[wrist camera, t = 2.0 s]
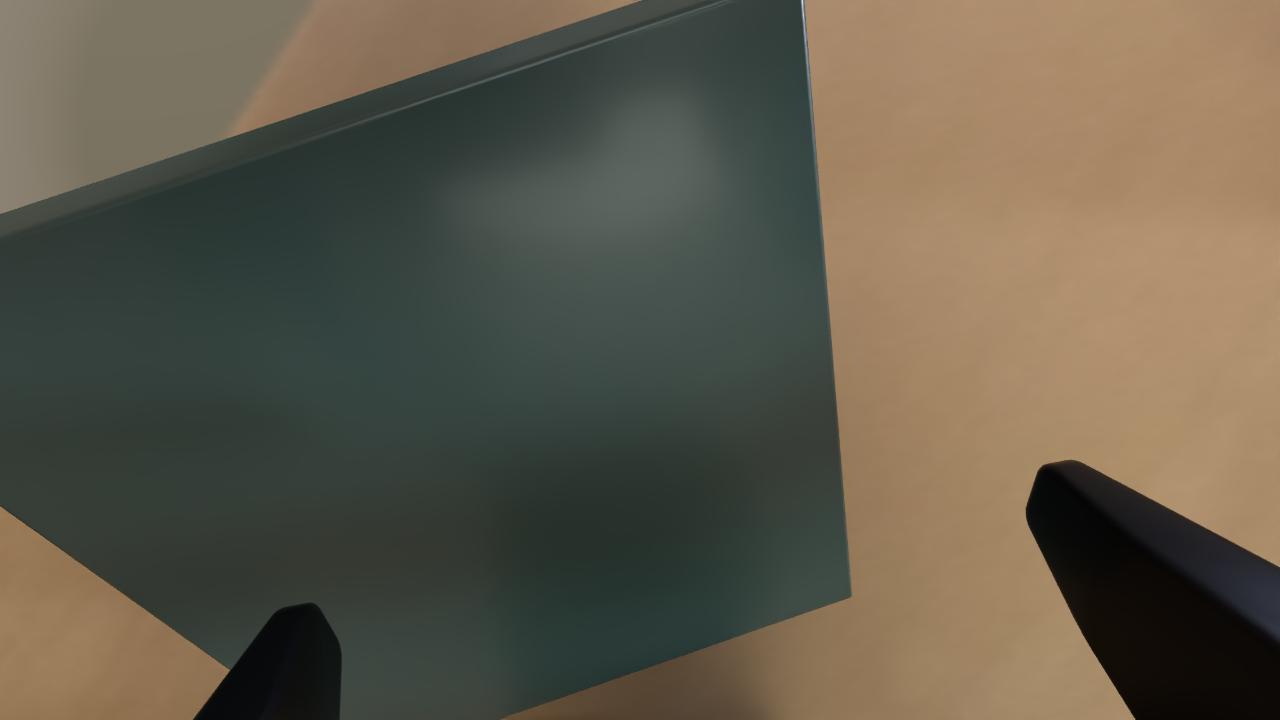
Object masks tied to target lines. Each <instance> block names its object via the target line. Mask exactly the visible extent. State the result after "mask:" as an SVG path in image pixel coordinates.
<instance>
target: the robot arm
mask: <svg viewBox="0 0 1280 720" xmlns="http://www.w3.org/2000/svg"><path fill="white" fill-rule="evenodd" d="M1026 519H1027V522H1028V525H1029V528H1030V530H1031V532H1032V534H1033V536H1034V538H1035V540H1036V542H1037V544H1038V546H1039V548H1040V550H1041V552H1042V554H1043V556H1044V558H1045V560H1046V562H1047V564H1048V566H1049V568H1050V571H1051V573H1052V575H1053V577H1054V579H1055V581H1056V583H1057V585H1058V587H1059V589H1060V591H1061V593H1062V595H1063V597H1064V599H1065V601H1066V603H1067V605H1068V607H1069V609H1070V611H1071V613H1072V615H1073V617H1074V619H1075V621H1076V623H1077V625H1078V626H1079V628H1080V630H1081V632H1082V634H1083V636H1084V637H1085V639H1086V641H1087V642H1088V644H1089V646H1090V648H1091V649H1092V651H1093V653H1094V654H1095V656H1096V657H1097V659H1098V661H1099V662H1100V664H1101V665H1102V667H1103V669H1104V670H1105V672H1106V673H1107V675H1108V676H1109V678H1110V680H1111V681H1112V683H1113V684H1114V686H1115V688H1116V689H1117V691H1118V692H1119V694H1120V696H1121V697H1122V699H1123V700H1124V702H1125V704H1126V705H1127V707H1128V708H1129V710H1130V712H1131V713H1132V715H1133V716H1134V718H1135V720H1280V567H1278V566H1276V565H1274V564H1272V563H1271V562H1269V561H1267V560H1265V559H1263V558H1261V557H1259V556H1257V555H1255V554H1254V553H1252V552H1250V551H1248V550H1246V549H1244V548H1242V547H1240V546H1238V545H1237V544H1235V543H1233V542H1231V541H1229V540H1227V539H1225V538H1223V537H1221V536H1220V535H1218V534H1216V533H1214V532H1212V531H1210V530H1208V529H1206V528H1204V527H1203V526H1201V525H1199V524H1197V523H1195V522H1193V521H1191V520H1189V519H1187V518H1186V517H1184V516H1182V515H1180V514H1178V513H1176V512H1174V511H1172V510H1170V509H1169V508H1167V507H1165V506H1163V505H1161V504H1159V503H1157V502H1155V501H1153V500H1152V499H1150V498H1148V497H1146V496H1144V495H1142V494H1140V493H1138V492H1136V491H1135V490H1133V489H1131V488H1129V487H1127V486H1125V485H1123V484H1121V483H1119V482H1118V481H1116V480H1114V479H1112V478H1110V477H1108V476H1106V475H1104V474H1102V473H1101V472H1099V471H1097V470H1095V469H1093V468H1091V467H1089V466H1087V465H1085V464H1084V463H1081V462H1079V461H1076V460H1065V461H1060V462H1054V463H1049V464H1045V465H1043V466H1042V467H1041V468H1040V469H1039V470H1038V472H1037V475H1036V478H1035V481H1034V484H1033V487H1032V490H1031V493H1030V496H1029V499H1028V502H1027V506H1026ZM341 673H342V652H341V647H340V643H339V641H338V638H337V637H336V635H335V633H334V631H333V630H332V628H331V626H330V625H329V623H328V621H327V619H326V618H325V616H324V614H323V613H322V611H321V609H320V608H319V607H318V605H316V604H314V603H303V604H298V605H293V606H287V607H283V608H281V609H279V610H277V611H276V612H275V613H274V614H273V615H272V616H271V617H270V619H269V620H268V621H267V623H266V624H265V625H264V627H263V628H262V629H261V631H260V632H259V633H258V635H257V636H256V637H255V639H254V640H253V641H252V643H251V644H250V645H249V646H248V648H247V649H246V650H245V652H244V653H243V654H242V656H241V657H240V658H239V660H238V661H237V662H236V664H235V665H234V666H233V668H232V669H231V670H230V672H229V673H228V674H227V675H226V677H225V678H224V679H223V681H222V682H221V683H220V685H219V686H218V687H217V689H216V690H215V691H214V693H213V694H212V695H211V697H210V698H209V699H208V701H207V702H206V703H205V704H204V706H203V707H202V708H201V710H200V711H199V712H198V714H197V715H196V716H195V718H194V719H193V720H340V699H341Z"/></svg>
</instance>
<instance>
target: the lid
mask: <svg viewBox="0 0 1280 720" xmlns="http://www.w3.org/2000/svg"><path fill="white" fill-rule="evenodd" d="M0 506H1V507H2V508H4V509H5V510H6V511H8V512H9V513H11V514H12V515H13V516H15V517H16V518H18V519H19V520H20V521H22V522H23V523H25V524H26V525H27V526H29V527H30V528H32V529H33V530H34V531H36V532H37V533H39V534H40V535H41V536H43V537H44V538H46V539H47V540H48V541H50V542H51V543H53V544H54V545H55V546H57V547H58V548H60V549H61V550H62V551H64V552H65V553H67V554H68V555H69V556H71V557H72V558H74V559H75V560H76V561H78V562H79V563H81V564H82V565H83V566H85V567H86V568H88V569H89V570H90V571H92V572H93V573H95V574H96V575H97V576H99V577H100V578H102V579H103V580H105V581H106V582H107V583H109V584H110V585H112V586H113V587H114V588H116V589H117V590H119V591H120V592H121V593H123V594H124V595H126V596H127V597H128V598H130V599H131V600H133V601H134V602H135V603H137V604H138V605H140V606H141V607H142V608H144V609H145V610H147V611H148V612H149V613H151V614H152V615H154V616H155V617H156V618H158V619H159V620H161V621H162V622H163V623H165V624H166V625H168V626H169V627H170V628H172V629H173V630H175V631H176V632H177V633H179V634H180V635H182V636H183V637H184V638H186V639H187V640H189V641H190V642H191V643H193V644H194V645H196V646H197V647H198V648H200V649H201V650H203V651H204V652H205V653H207V654H208V655H210V656H211V657H212V658H214V659H215V660H217V661H218V662H219V663H221V664H222V665H224V666H225V667H226V668H228V669H229V670H231V669H232V668H233V666H234V665H235V664H236V662H237V661H238V660H239V658H240V657H241V656H242V654H243V653H244V652H245V650H246V649H247V648H248V646H249V645H250V644H251V643H252V641H253V640H254V639H255V637H256V636H257V635H258V633H259V632H260V631H261V629H262V628H263V627H264V625H265V624H266V623H267V621H268V620H269V619H270V617H271V616H272V615H273V614H274V613H275V612H276V611H277V610H279V609H281V608H283V607H287V606H293V605H298V604H303V603H314V604H316V605H318V607H319V608H320V609H321V611H322V613H323V614H324V616H325V618H326V619H327V621H328V623H329V625H330V626H331V628H332V630H333V631H334V633H335V635H336V637H337V638H338V641H339V643H340V647H341V652H342V673H341V699H340V720H499V719H501V718H504V717H507V716H510V715H513V714H516V713H519V712H522V711H524V710H527V709H530V708H533V707H536V706H539V705H542V704H545V703H548V702H550V701H553V700H556V699H559V698H562V697H565V696H568V695H571V694H573V693H576V692H579V691H582V690H585V689H588V688H591V687H594V686H596V685H599V684H602V683H605V682H608V681H611V680H614V679H617V678H620V677H622V676H625V675H628V674H631V673H634V672H637V671H640V670H643V669H645V668H648V667H651V666H654V665H657V664H660V663H663V662H666V661H668V660H671V659H674V658H677V657H680V656H683V655H686V654H689V653H692V652H694V651H697V650H700V649H703V648H706V647H709V646H712V645H715V644H717V643H720V642H723V641H726V640H729V639H732V638H735V637H738V636H740V635H743V634H746V633H749V632H752V631H755V630H758V629H761V628H764V627H766V626H769V625H772V624H775V623H778V622H781V621H784V620H787V619H789V618H792V617H795V616H798V615H801V614H804V613H807V612H810V611H812V610H815V609H818V608H821V607H824V606H827V605H830V604H833V603H836V602H838V601H841V600H844V599H847V598H850V597H851V596H852V591H851V578H850V566H849V553H848V541H847V528H846V516H845V503H844V491H843V478H842V466H841V454H840V441H839V429H838V416H837V404H836V391H835V379H834V366H833V354H832V341H831V329H830V316H829V304H828V291H827V279H826V266H825V254H824V241H823V229H822V216H821V204H820V191H819V179H818V166H817V154H816V141H815V129H814V116H813V104H812V91H811V79H810V66H809V54H808V41H807V29H806V17H805V4H804V0H642V1H639V2H636V3H633V4H630V5H627V6H624V7H621V8H618V9H615V10H612V11H609V12H606V13H603V14H600V15H597V16H594V17H591V18H588V19H585V20H582V21H579V22H576V23H573V24H570V25H567V26H564V27H561V28H558V29H555V30H552V31H549V32H546V33H543V34H540V35H537V36H534V37H531V38H528V39H525V40H522V41H519V42H516V43H513V44H510V45H507V46H504V47H501V48H498V49H495V50H492V51H489V52H486V53H483V54H480V55H477V56H474V57H471V58H468V59H465V60H462V61H459V62H456V63H453V64H450V65H447V66H444V67H441V68H438V69H435V70H432V71H429V72H426V73H423V74H420V75H417V76H414V77H411V78H408V79H405V80H402V81H399V82H396V83H393V84H390V85H387V86H384V87H381V88H378V89H375V90H372V91H369V92H366V93H363V94H360V95H357V96H354V97H351V98H348V99H345V100H342V101H339V102H336V103H333V104H330V105H327V106H324V107H321V108H318V109H315V110H312V111H309V112H306V113H303V114H300V115H297V116H294V117H291V118H288V119H285V120H282V121H279V122H276V123H273V124H270V125H267V126H264V127H261V128H258V129H255V130H252V131H249V132H246V133H243V134H240V135H237V136H234V137H231V138H228V139H225V140H222V141H219V142H216V143H213V144H210V145H207V146H204V147H201V148H198V149H195V150H192V151H189V152H186V153H183V154H180V155H177V156H174V157H171V158H168V159H165V160H162V161H159V162H156V163H153V164H150V165H147V166H144V167H141V168H138V169H135V170H132V171H129V172H126V173H123V174H120V175H117V176H114V177H111V178H108V179H105V180H102V181H99V182H96V183H93V184H90V185H87V186H84V187H81V188H78V189H75V190H72V191H69V192H66V193H63V194H60V195H57V196H54V197H51V198H48V199H45V200H42V201H39V202H36V203H33V204H30V205H27V206H24V207H21V208H18V209H15V210H12V211H9V212H6V213H2V214H0Z"/></svg>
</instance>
